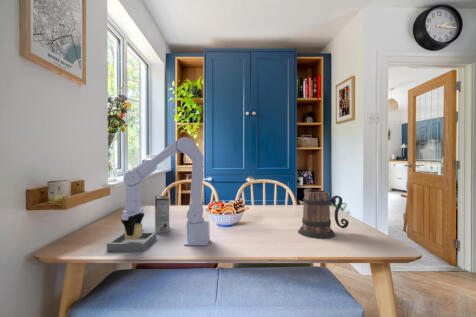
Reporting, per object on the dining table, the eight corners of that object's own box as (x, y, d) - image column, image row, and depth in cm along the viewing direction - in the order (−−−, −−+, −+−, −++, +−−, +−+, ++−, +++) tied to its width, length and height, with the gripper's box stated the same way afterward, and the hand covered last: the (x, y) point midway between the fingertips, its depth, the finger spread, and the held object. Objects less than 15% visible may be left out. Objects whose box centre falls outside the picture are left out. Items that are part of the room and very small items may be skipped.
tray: (156, 238, 105) (156, 232, 105) (143, 251, 91) (143, 243, 91) (124, 238, 105) (124, 232, 105) (106, 250, 91) (106, 243, 91)
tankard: (303, 239, 105) (304, 193, 105) (293, 227, 122) (294, 188, 121) (356, 238, 105) (357, 193, 105) (339, 227, 122) (339, 188, 122)
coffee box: (154, 227, 121) (154, 196, 121) (168, 226, 124) (168, 195, 123) (155, 233, 113) (155, 199, 113) (169, 231, 115) (169, 198, 115)
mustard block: (142, 235, 101) (142, 223, 101) (137, 239, 96) (137, 226, 96) (130, 235, 101) (130, 223, 101) (124, 239, 96) (124, 226, 96)
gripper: (131, 197, 105) (131, 227, 105) (114, 203, 91) (114, 239, 91) (147, 197, 105) (147, 228, 105) (132, 203, 91) (132, 239, 91)
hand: (133, 233), depth 98 cm, fingers closed on mustard block, 5 cm apart
